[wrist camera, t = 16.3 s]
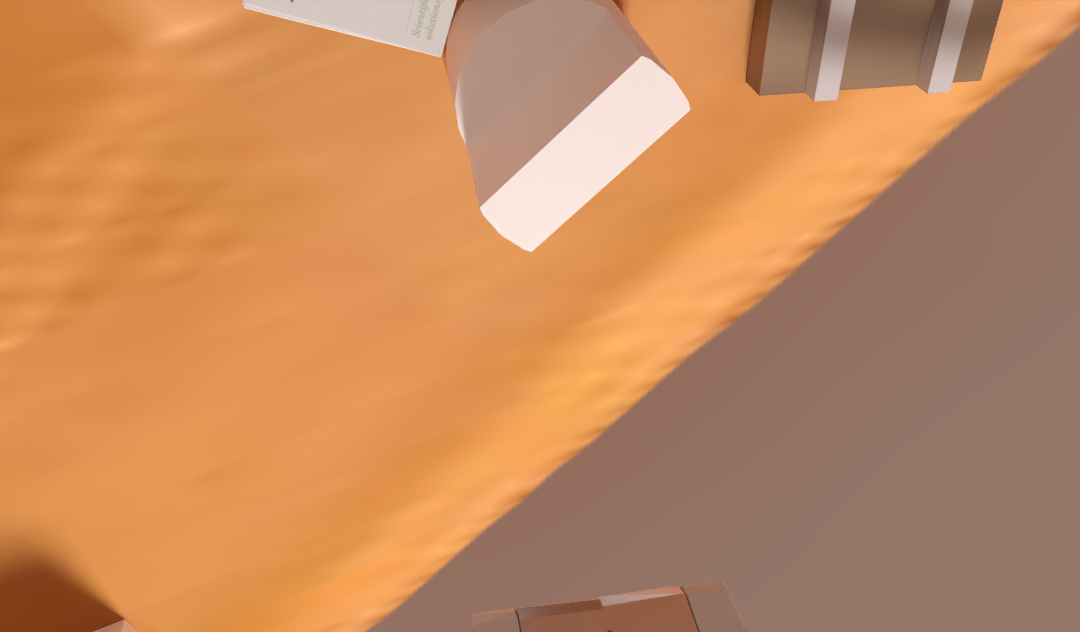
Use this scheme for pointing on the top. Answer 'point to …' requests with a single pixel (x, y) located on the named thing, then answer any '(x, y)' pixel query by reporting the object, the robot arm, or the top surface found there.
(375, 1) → the skincare box
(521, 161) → the base with upright slab
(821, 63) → the rail board
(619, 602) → the robot arm
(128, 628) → the white slotted rack
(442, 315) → the top surface
